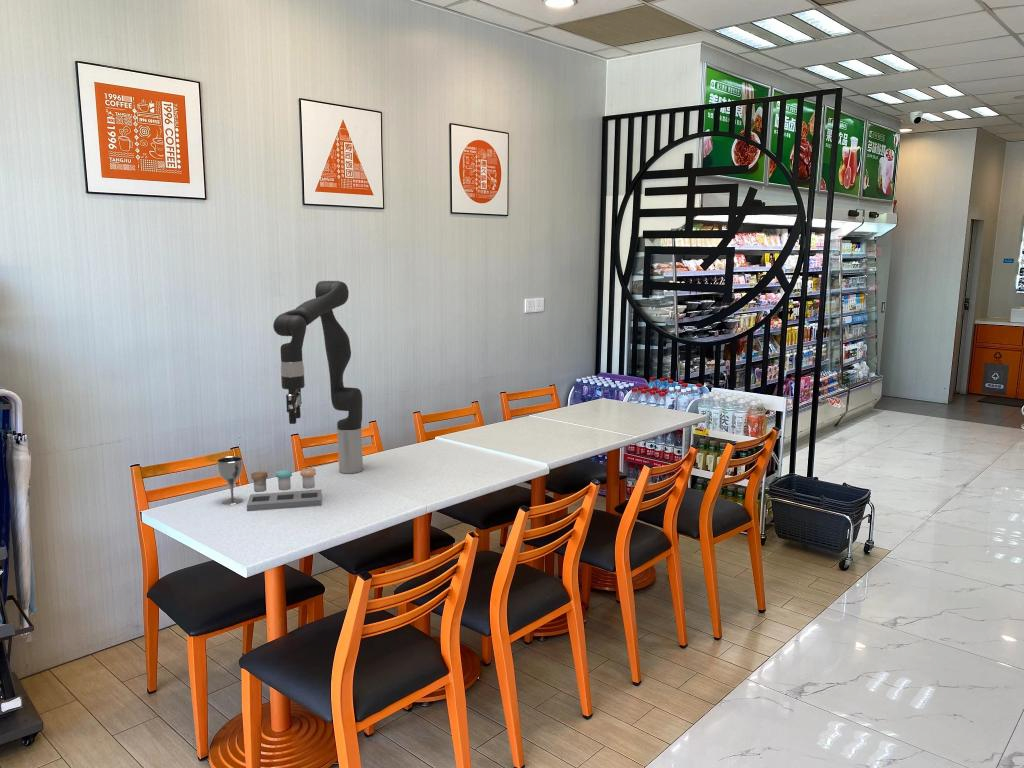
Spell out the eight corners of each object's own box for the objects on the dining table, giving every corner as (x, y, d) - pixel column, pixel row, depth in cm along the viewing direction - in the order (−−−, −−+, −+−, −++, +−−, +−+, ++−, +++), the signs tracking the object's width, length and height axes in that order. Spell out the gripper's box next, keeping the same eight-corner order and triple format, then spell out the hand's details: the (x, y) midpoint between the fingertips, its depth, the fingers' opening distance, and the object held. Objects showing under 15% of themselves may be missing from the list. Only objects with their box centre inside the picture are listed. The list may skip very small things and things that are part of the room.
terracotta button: (301, 485, 268) (300, 468, 267) (316, 484, 269) (315, 467, 268) (300, 489, 263) (299, 472, 262) (316, 488, 264) (315, 471, 263)
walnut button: (253, 488, 264) (252, 471, 263) (268, 487, 265) (267, 470, 264) (251, 493, 259) (250, 476, 258) (267, 492, 260) (266, 475, 259)
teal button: (277, 487, 266) (276, 470, 265) (292, 485, 267) (292, 469, 266) (276, 491, 261) (275, 474, 260) (292, 490, 262) (291, 473, 261)
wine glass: (216, 504, 263) (212, 462, 261) (227, 497, 271) (224, 456, 268) (237, 505, 262) (235, 462, 260) (248, 498, 270) (246, 456, 267)
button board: (250, 499, 268) (250, 494, 267) (321, 494, 273) (321, 489, 273) (247, 511, 256) (246, 505, 256) (321, 505, 262) (320, 499, 261)
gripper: (285, 371, 267) (287, 416, 270) (277, 377, 253) (279, 425, 256) (307, 370, 268) (309, 416, 270) (300, 377, 254) (302, 425, 256)
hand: (295, 420), depth 263 cm, fingers open, 8 cm apart
